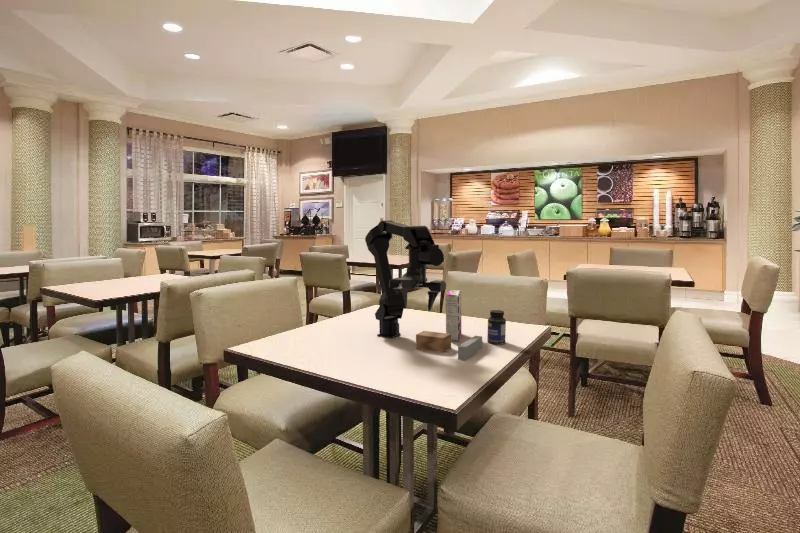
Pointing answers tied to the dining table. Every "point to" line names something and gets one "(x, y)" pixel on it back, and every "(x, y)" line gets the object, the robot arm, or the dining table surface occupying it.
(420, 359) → the dining table surface
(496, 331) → the pill bottle
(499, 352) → the dining table surface
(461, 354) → the fence board
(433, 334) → the walnut brick
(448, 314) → the candy bar box
